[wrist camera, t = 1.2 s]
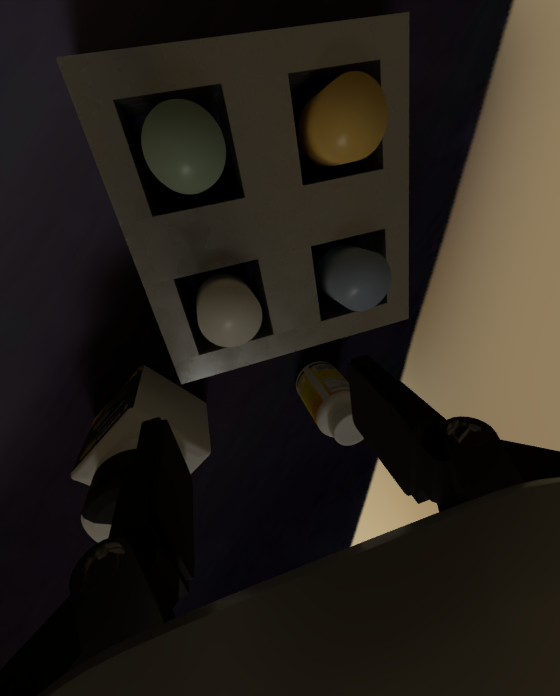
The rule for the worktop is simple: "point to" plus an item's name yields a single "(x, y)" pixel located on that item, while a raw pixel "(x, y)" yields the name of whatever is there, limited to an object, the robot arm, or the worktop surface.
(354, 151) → the amber rounded lump
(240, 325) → the ivory button
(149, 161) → the sage button
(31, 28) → the worktop surface
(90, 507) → the medicine bottle
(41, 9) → the worktop surface
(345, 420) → the supplement bottle
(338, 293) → the slate button
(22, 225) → the worktop surface
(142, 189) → the panel
